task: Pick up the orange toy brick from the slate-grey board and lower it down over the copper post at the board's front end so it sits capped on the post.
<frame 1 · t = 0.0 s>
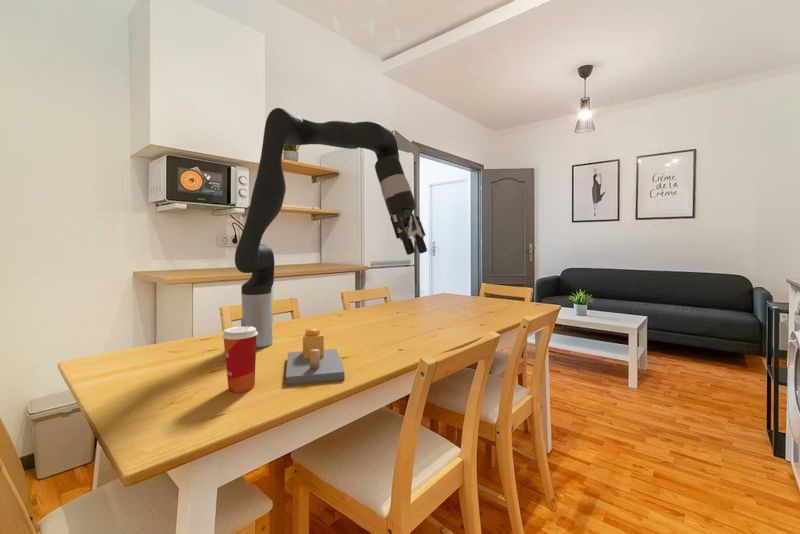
hand: (417, 253, 96), 31 cm above the table, tool tilted 20°, fingers open, 8 cm apart
board: (314, 368, 100), on the table
orange toy brick: (313, 354, 106), point 2 cm above the table, touching board
paper cup: (241, 388, 87), on the table
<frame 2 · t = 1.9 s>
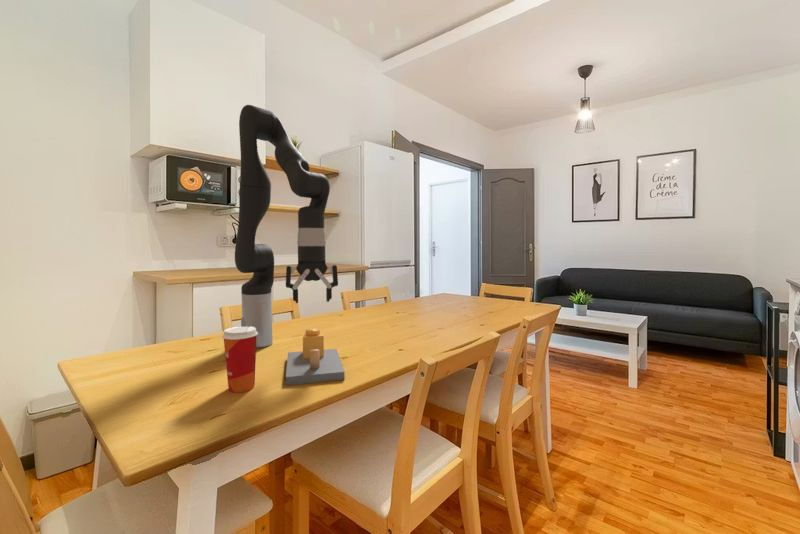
hand: (312, 301, 104), 17 cm above the table, tool pointing down, fingers open, 8 cm apart
nothing on the table moved.
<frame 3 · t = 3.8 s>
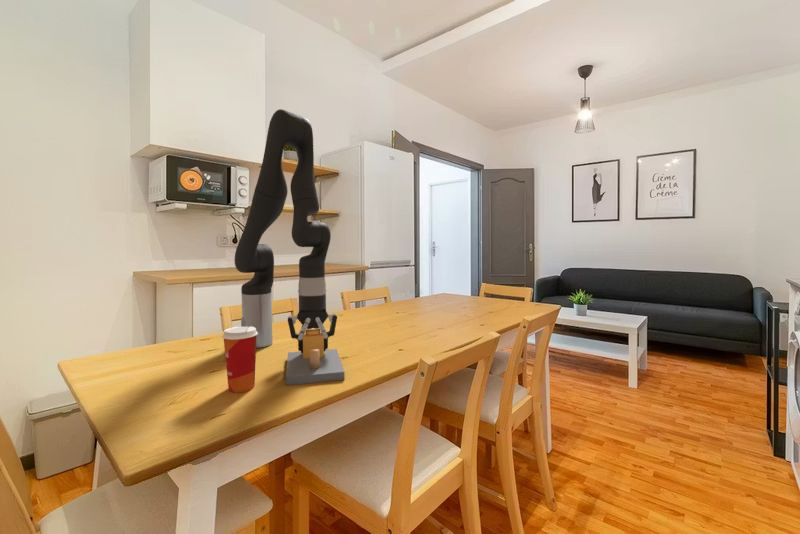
hand: (313, 351, 105), 3 cm above the table, tool pointing down, fingers closed on orange toy brick, 5 cm apart
orange toy brick: (313, 354, 106), point 2 cm above the table, touching board, gripper
everything else where it was.
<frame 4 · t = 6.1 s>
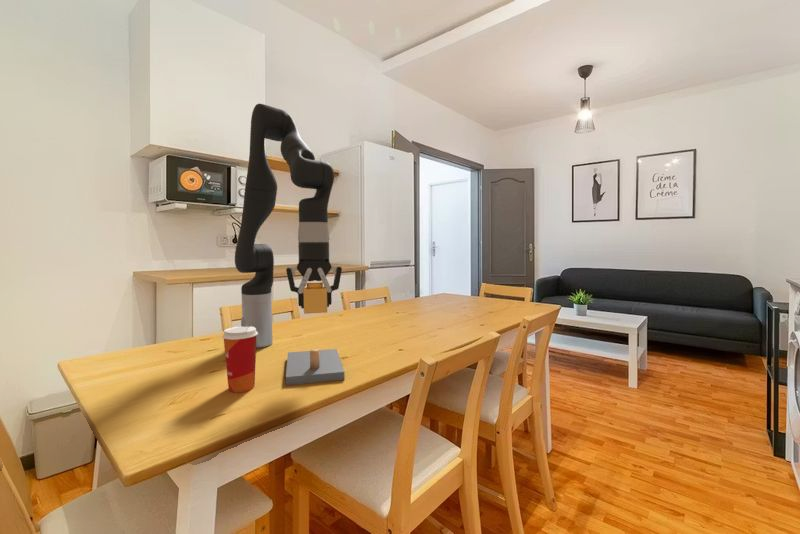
hand: (315, 307, 94), 18 cm above the table, tool pointing down, fingers closed on orange toy brick, 5 cm apart
orange toy brick: (315, 311, 94), point 17 cm above the table, touching gripper
everything else where it was.
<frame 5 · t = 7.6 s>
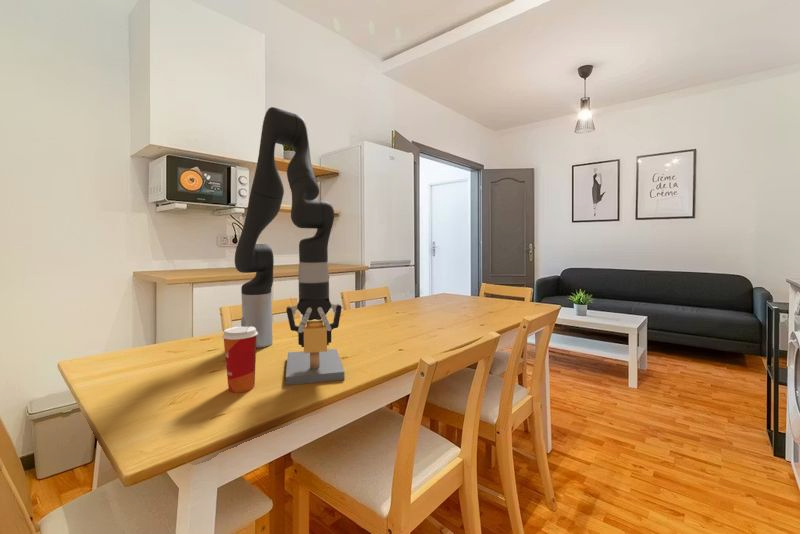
hand: (314, 345, 94), 8 cm above the table, tool pointing down, fingers closed on orange toy brick, 5 cm apart
orange toy brick: (315, 349, 95), point 7 cm above the table, touching gripper
everything else where it was.
when the fingers open (4 cm above the table, at t = 8.9 s): orange toy brick stays where it is, resting on board.
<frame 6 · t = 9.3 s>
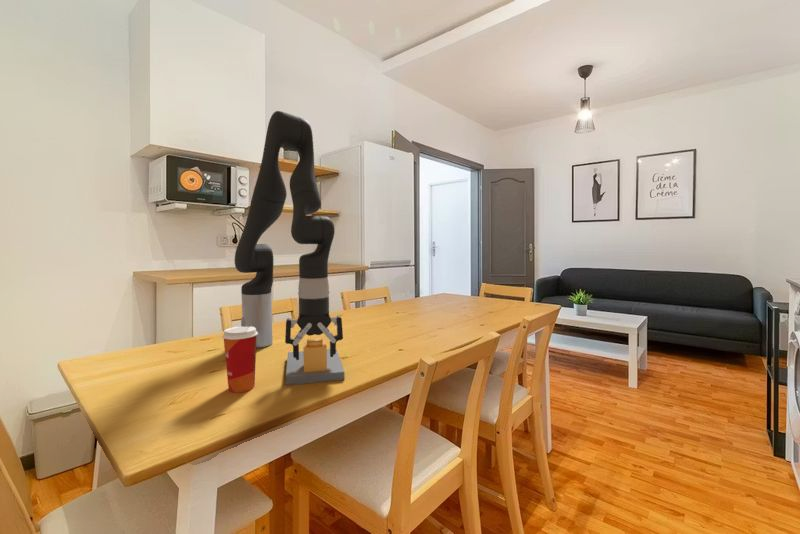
hand: (314, 357, 95), 5 cm above the table, tool pointing down, fingers open, 8 cm apart
orange toy brick: (315, 367, 95), point 2 cm above the table, touching board
everything else where it was.
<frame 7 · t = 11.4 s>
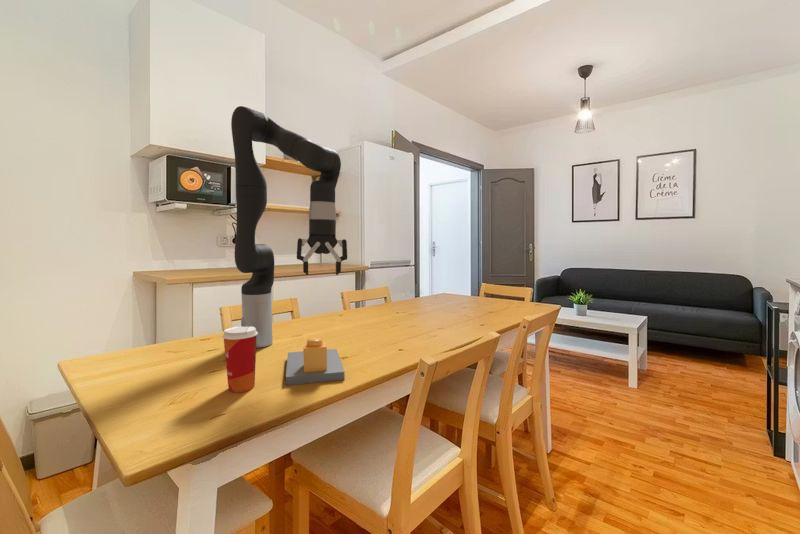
hand: (322, 274, 107), 25 cm above the table, tool pointing down, fingers open, 8 cm apart
nothing on the table moved.
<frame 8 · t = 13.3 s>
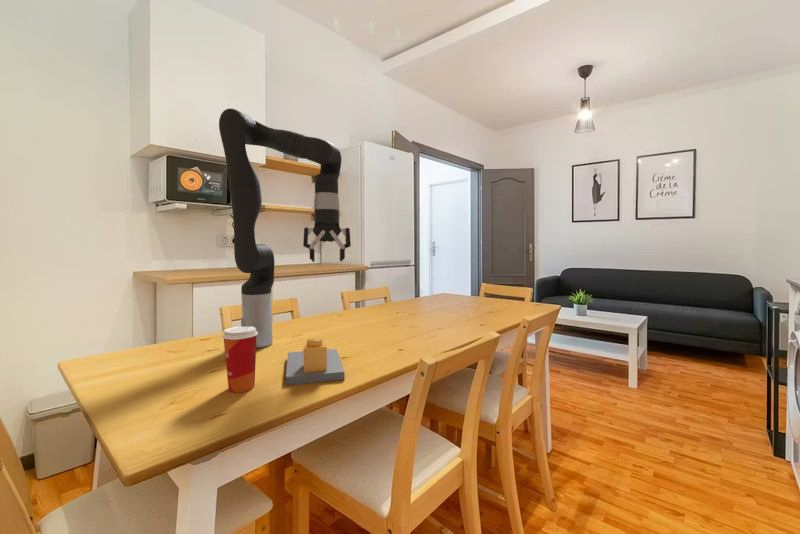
hand: (327, 261, 115), 28 cm above the table, tool pointing down, fingers open, 8 cm apart
nothing on the table moved.
at the end: orange toy brick 0.1 cm from the target spot on the board, point 2.0 cm above the board's base; orange toy brick tilted 0°; the gripper is holding nothing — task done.
